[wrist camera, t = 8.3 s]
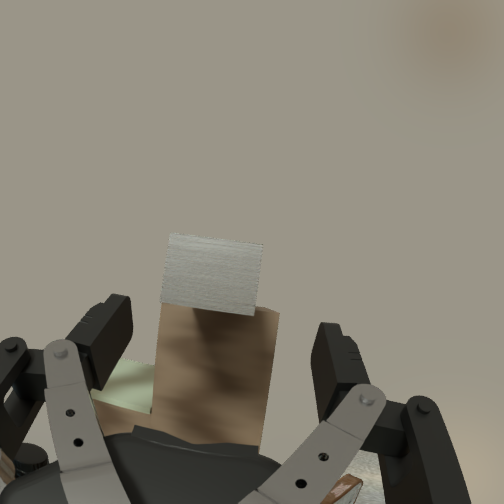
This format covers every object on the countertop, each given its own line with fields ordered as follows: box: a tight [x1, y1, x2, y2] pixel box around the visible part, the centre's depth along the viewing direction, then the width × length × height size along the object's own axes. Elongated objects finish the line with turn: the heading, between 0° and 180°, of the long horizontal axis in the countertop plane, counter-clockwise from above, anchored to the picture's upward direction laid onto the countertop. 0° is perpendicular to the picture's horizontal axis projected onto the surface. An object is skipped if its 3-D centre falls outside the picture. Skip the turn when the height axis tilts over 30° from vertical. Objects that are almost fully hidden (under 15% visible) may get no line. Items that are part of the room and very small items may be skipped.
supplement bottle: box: [13, 443, 49, 479], centre depth 19 cm, size 7×7×12 cm
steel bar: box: [160, 233, 263, 316], centre depth 24 cm, size 4×22×3 cm, turn 2°
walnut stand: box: [90, 303, 280, 454], centre depth 25 cm, size 16×14×32 cm
